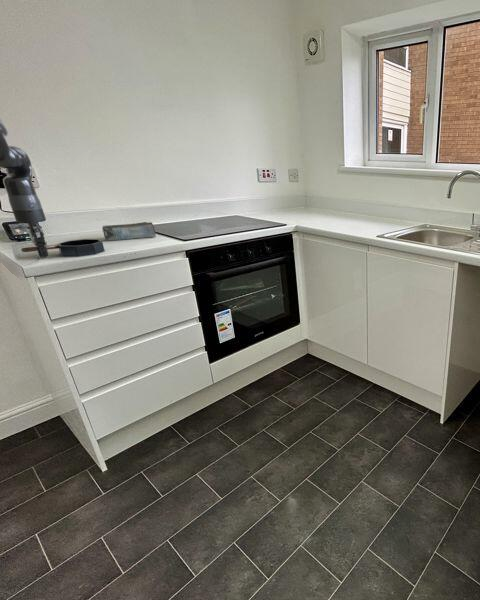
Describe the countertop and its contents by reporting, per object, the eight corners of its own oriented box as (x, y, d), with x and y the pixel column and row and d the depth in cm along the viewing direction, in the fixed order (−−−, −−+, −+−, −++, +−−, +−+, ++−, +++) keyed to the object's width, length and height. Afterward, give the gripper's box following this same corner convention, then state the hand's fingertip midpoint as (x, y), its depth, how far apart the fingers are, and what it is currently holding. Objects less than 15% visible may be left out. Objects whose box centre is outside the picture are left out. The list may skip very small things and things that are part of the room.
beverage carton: (105, 238, 161) (101, 223, 159) (155, 234, 172) (152, 221, 170) (105, 241, 155) (101, 226, 153) (157, 237, 166) (153, 223, 164)
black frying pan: (27, 263, 121) (22, 251, 120) (22, 256, 129) (18, 245, 127) (107, 252, 137) (104, 242, 136) (99, 247, 145) (96, 237, 143)
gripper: (9, 206, 123) (27, 254, 130) (13, 210, 115) (32, 261, 122) (39, 205, 129) (54, 251, 135) (45, 209, 121) (61, 257, 127)
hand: (43, 256), depth 128 cm, fingers closed, pressing on black frying pan
